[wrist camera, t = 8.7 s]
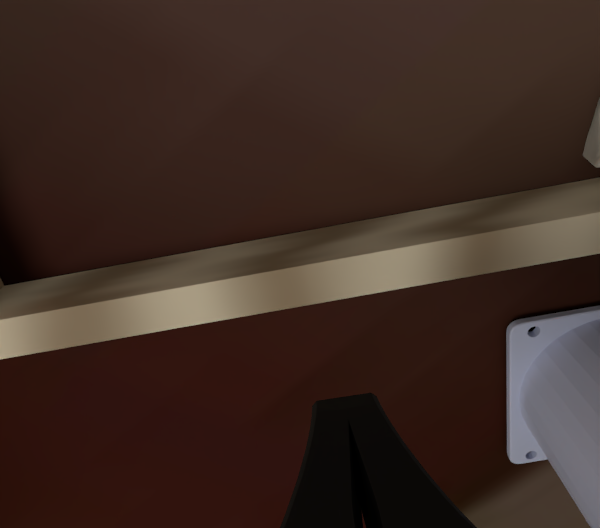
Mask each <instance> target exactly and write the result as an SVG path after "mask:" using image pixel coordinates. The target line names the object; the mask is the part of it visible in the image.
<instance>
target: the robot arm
mask: <svg viewBox="0 0 600 528" xmlns="http://www.w3.org/2000/svg"><path fill="white" fill-rule="evenodd" d="M534 326H536V327H535V329H534V330H533V331H531V332H528V330H529V329H530V328H531V327H534ZM506 355H507V455H508V457H509V459H510V461H511V462H513V463H515V464H522V463H528V462H534V461H540V460H546V459H548V460H549V462H550V463H551V465H552V466H553V468H554V470H555V471H556V473H557V474H558V476H559V478H560V479H561V481H562V482H563V484H564V486H565V487H566V489H567V490H568V492H569V494H570V495H571V497H572V498H573V500H574V502H575V503H576V505H577V506H578V508H579V509H580V511H581V513H582V514H583V516H584V517H585V519H586V521H587V522H588V524H589V525H590V527H591V528H600V305H599V306H593V307H587V308H581V309H575V310H570V311H564V312H558V313H552V314H547V315H541V316H535V317H529V318H523V319H518V320H515V321H513V322H512V323H510V324H509V326H508V327H507V331H506ZM361 510H362V511H361ZM362 514H363V517H364V521H365V525H366V528H476V527H475V526H474V524H473V523H472V522H471V521H470V520H469V519H468V518H467V517H466V516H465V515H464V514H463V513H462V512H461V511H460V510H459V509H458V508H457V507H456V506H455V505H454V503H453V502H452V501H451V500H450V499H449V498H448V497H447V496H446V494H445V493H444V492H443V491H442V490H441V489H440V487H439V486H438V485H437V484H436V483H435V482H434V480H433V479H432V478H431V477H430V476H429V474H428V473H427V472H426V471H425V469H424V468H423V467H422V466H421V464H420V463H419V462H418V460H417V459H416V458H415V456H414V455H413V454H412V452H411V451H410V450H409V448H408V447H407V446H406V444H405V443H404V442H403V440H402V439H401V437H400V436H399V434H398V433H397V431H396V430H395V428H394V427H393V425H392V424H391V422H390V421H389V419H388V417H387V416H386V414H385V412H384V410H383V409H382V407H381V405H380V403H379V401H378V399H377V396H375V395H374V394H372V393H367V394H360V395H353V396H347V397H340V398H333V399H327V400H320V401H316V402H315V404H314V405H313V406H312V419H311V427H310V432H309V437H308V442H307V446H306V451H305V454H304V458H303V462H302V465H301V469H300V472H299V476H298V479H297V482H296V486H295V488H294V491H293V494H292V497H291V500H290V503H289V505H288V508H287V511H286V514H285V517H284V519H283V522H282V524H281V527H280V528H363V523H362Z"/></svg>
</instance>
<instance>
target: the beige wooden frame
mask: <svg viewBox="0 0 600 528" xmlns="http://www.w3.org/2000/svg"><path fill="white" fill-rule="evenodd" d="M594 254H600V177H599V178H593V179H588V180H582V181H577V182H571V183H566V184H560V185H555V186H549V187H544V188H538V189H533V190H527V191H522V192H516V193H511V194H505V195H500V196H495V197H489V198H484V199H478V200H473V201H467V202H462V203H456V204H451V205H445V206H440V207H434V208H429V209H423V210H418V211H412V212H407V213H401V214H396V215H390V216H385V217H379V218H374V219H368V220H363V221H357V222H352V223H346V224H341V225H335V226H330V227H324V228H319V229H313V230H308V231H302V232H297V233H291V234H286V235H280V236H275V237H269V238H264V239H259V240H253V241H248V242H242V243H237V244H231V245H226V246H220V247H215V248H209V249H204V250H198V251H193V252H187V253H182V254H176V255H171V256H165V257H160V258H154V259H149V260H143V261H138V262H132V263H127V264H121V265H116V266H110V267H105V268H99V269H94V270H88V271H83V272H77V273H72V274H66V275H61V276H55V277H50V278H44V279H39V280H33V281H28V282H23V283H17V284H12V285H6V286H4V284H3V282H2V280H1V278H0V359H5V358H11V357H17V356H22V355H28V354H33V353H39V352H45V351H50V350H56V349H62V348H67V347H73V346H79V345H84V344H90V343H96V342H101V341H107V340H113V339H118V338H124V337H130V336H135V335H141V334H147V333H152V332H158V331H164V330H169V329H175V328H181V327H186V326H192V325H198V324H203V323H209V322H215V321H220V320H226V319H232V318H237V317H243V316H249V315H254V314H260V313H266V312H271V311H277V310H283V309H288V308H294V307H300V306H305V305H311V304H317V303H322V302H328V301H334V300H339V299H345V298H351V297H356V296H362V295H368V294H373V293H379V292H384V291H390V290H396V289H401V288H407V287H413V286H418V285H424V284H430V283H435V282H441V281H447V280H452V279H458V278H464V277H469V276H475V275H481V274H486V273H492V272H498V271H503V270H509V269H515V268H520V267H526V266H532V265H537V264H543V263H549V262H554V261H560V260H566V259H571V258H577V257H583V256H588V255H594Z"/></svg>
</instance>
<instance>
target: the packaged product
mask: <svg viewBox="0 0 600 528" xmlns="http://www.w3.org/2000/svg"><path fill="white" fill-rule="evenodd" d="M583 156H584V157H585V158H586V159H587V160H588V161H589V162H590V163H591V164H592V165H594V166H595V167H598V168H600V98H599V101H598V104H597V107H596V110H595V114H594V117H593V120H592V123H591V126H590V129H589V133H588V136H587V139H586V143H585V148H584V152H583Z"/></svg>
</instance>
